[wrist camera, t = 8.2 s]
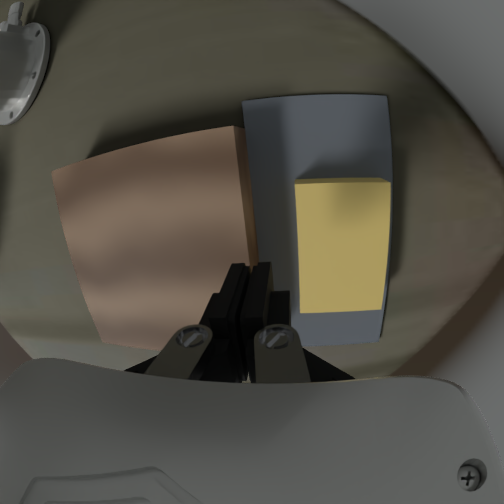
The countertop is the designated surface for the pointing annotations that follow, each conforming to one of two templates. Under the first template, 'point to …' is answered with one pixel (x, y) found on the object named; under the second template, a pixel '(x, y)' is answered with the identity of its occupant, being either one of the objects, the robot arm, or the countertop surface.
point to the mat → (311, 167)
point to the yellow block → (342, 243)
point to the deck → (157, 230)
